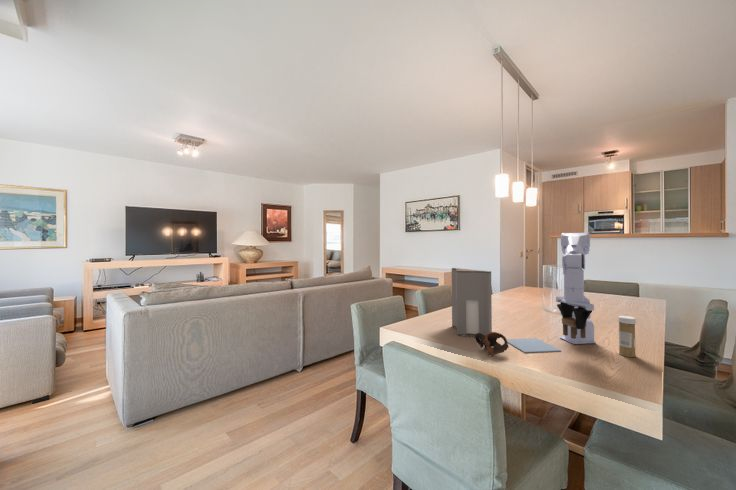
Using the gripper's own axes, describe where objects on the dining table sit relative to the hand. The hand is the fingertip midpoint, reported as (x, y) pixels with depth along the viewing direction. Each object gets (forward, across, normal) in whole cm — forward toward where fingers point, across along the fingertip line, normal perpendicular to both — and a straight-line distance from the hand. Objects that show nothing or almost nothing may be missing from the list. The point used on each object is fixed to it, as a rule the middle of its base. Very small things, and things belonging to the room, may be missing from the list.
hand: (573, 326), depth 104 cm
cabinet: (+11, -30, -27) cm, 42 cm away
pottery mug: (+11, -8, -26) cm, 30 cm away
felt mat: (+10, -12, -8) cm, 18 cm away
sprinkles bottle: (+11, +2, +19) cm, 22 cm away
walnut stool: (+3, 0, 0) cm, 3 cm away
